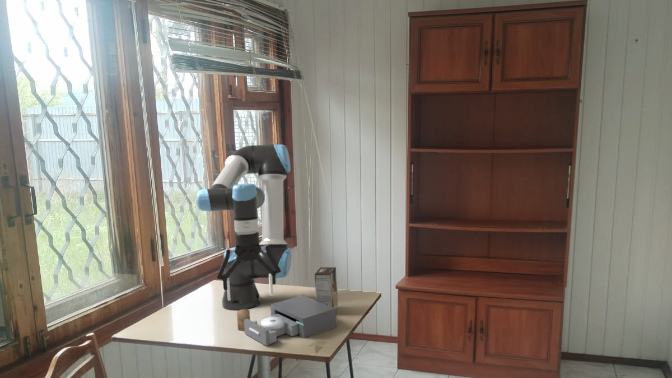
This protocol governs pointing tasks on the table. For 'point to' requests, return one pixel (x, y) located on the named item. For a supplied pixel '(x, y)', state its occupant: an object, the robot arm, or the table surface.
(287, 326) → the grey drawer
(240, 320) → the brown rounded peg
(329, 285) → the coffee box
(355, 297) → the table surface
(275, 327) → the lid
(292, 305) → the housing
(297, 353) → the table surface
